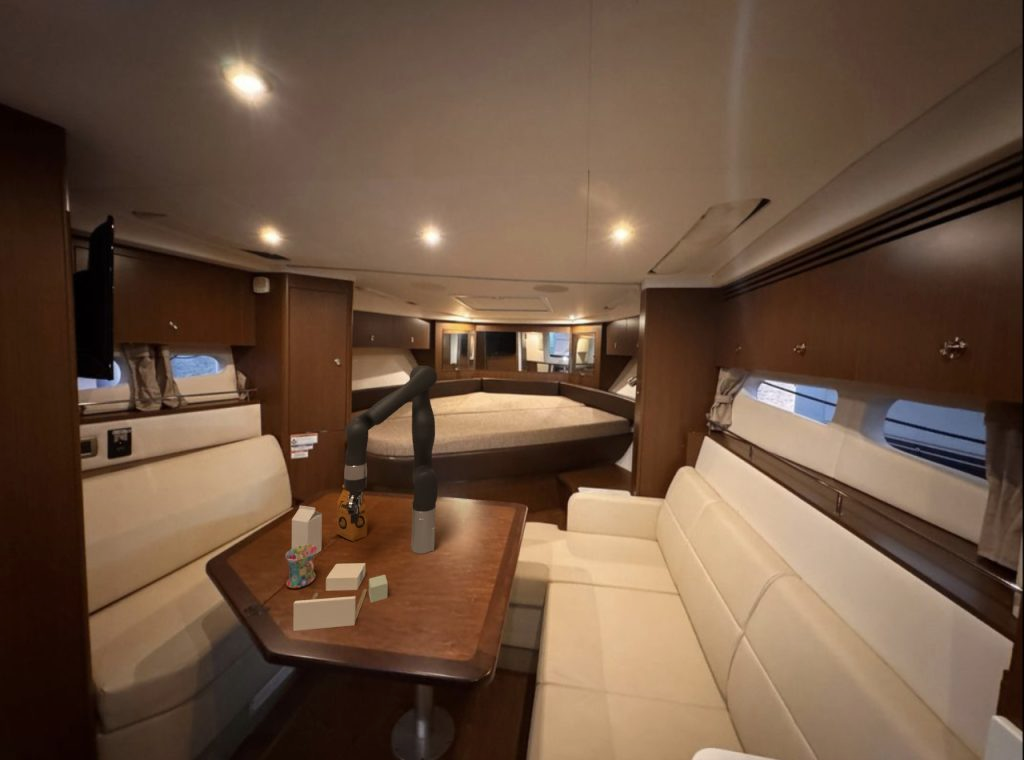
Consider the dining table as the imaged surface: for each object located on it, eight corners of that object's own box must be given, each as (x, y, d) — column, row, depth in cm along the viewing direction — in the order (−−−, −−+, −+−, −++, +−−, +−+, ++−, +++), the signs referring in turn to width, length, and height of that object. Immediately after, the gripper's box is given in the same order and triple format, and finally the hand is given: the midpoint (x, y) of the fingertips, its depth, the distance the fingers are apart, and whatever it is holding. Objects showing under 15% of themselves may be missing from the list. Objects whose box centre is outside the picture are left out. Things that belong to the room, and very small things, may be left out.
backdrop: (355, 622, 97) (355, 596, 97) (354, 625, 96) (354, 598, 96) (295, 628, 94) (295, 600, 94) (293, 630, 93) (293, 603, 93)
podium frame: (366, 591, 110) (366, 588, 110) (355, 621, 97) (355, 618, 97) (314, 595, 107) (314, 592, 107) (295, 626, 95) (295, 624, 95)
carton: (365, 575, 119) (365, 563, 118) (357, 590, 111) (357, 577, 111) (335, 576, 118) (336, 563, 117) (325, 591, 110) (325, 578, 110)
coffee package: (349, 545, 137) (350, 492, 136) (333, 535, 144) (334, 485, 143) (371, 535, 145) (372, 486, 144) (354, 526, 152) (355, 479, 151)
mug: (279, 584, 112) (279, 553, 111) (308, 570, 120) (308, 541, 119) (297, 598, 106) (297, 566, 105) (326, 582, 114) (327, 552, 113)
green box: (384, 588, 112) (385, 574, 112) (387, 598, 108) (387, 583, 107) (368, 593, 109) (368, 578, 109) (370, 603, 105) (371, 587, 105)
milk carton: (307, 561, 125) (307, 511, 124) (291, 558, 127) (291, 509, 126) (321, 550, 132) (322, 504, 131) (306, 548, 133) (306, 501, 133)
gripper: (361, 481, 115) (360, 530, 116) (371, 469, 129) (370, 513, 130) (338, 482, 114) (337, 531, 115) (350, 469, 127) (349, 513, 128)
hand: (354, 521), depth 122 cm, fingers closed
